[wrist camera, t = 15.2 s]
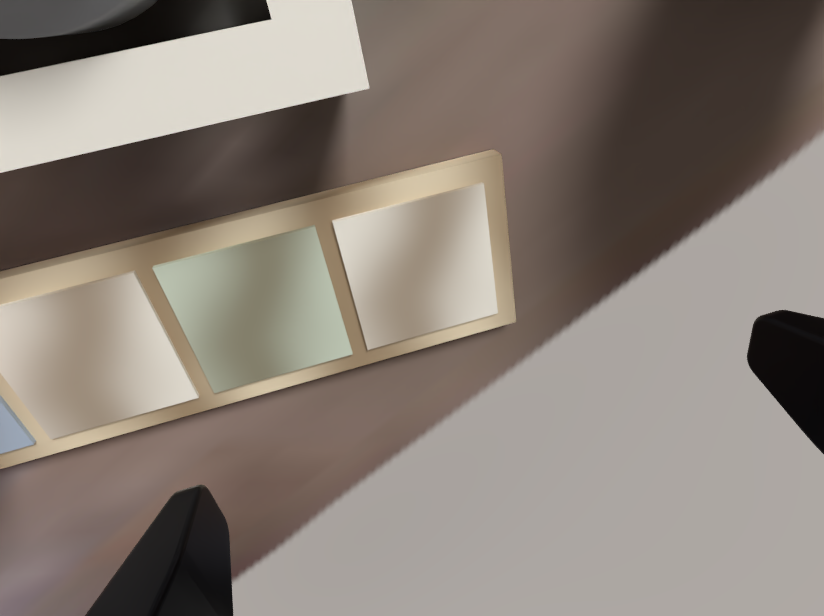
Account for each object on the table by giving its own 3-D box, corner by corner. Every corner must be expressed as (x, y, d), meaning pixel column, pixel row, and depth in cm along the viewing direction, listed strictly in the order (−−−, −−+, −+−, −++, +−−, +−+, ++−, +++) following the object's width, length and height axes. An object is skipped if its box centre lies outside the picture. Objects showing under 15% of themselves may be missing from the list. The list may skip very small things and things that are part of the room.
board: (493, 149, 19) (503, 155, 18) (508, 312, 22) (518, 324, 21) (-274, 339, 16) (-305, 357, 15) (-114, 488, 20) (-132, 510, 19)
